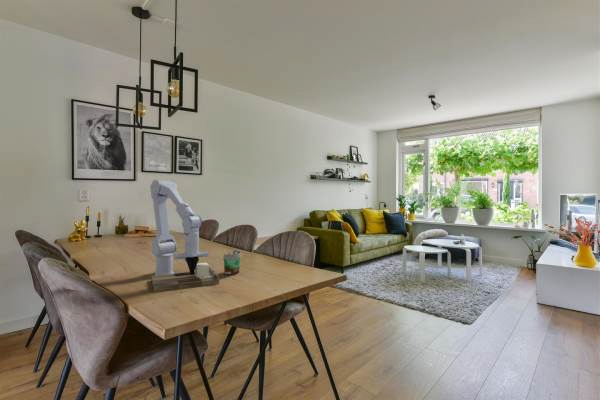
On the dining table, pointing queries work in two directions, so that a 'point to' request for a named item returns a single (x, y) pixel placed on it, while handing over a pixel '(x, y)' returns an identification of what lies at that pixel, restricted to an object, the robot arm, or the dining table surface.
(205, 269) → the block
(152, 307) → the dining table surface
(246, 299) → the dining table surface
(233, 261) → the food container
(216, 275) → the trap deck
